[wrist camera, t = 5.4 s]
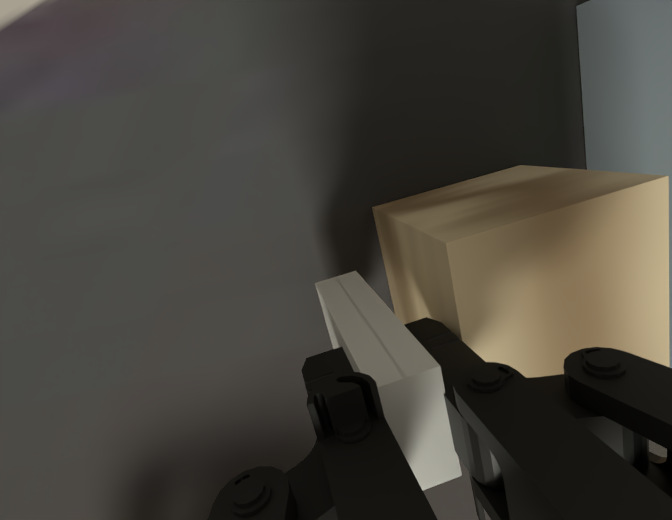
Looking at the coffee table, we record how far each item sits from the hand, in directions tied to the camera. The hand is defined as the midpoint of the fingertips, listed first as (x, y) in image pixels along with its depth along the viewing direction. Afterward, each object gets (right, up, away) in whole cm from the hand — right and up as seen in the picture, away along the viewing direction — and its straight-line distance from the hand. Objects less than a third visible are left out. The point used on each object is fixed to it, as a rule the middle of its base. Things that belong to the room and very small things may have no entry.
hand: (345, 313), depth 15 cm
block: (+5, +2, +2) cm, 5 cm away
